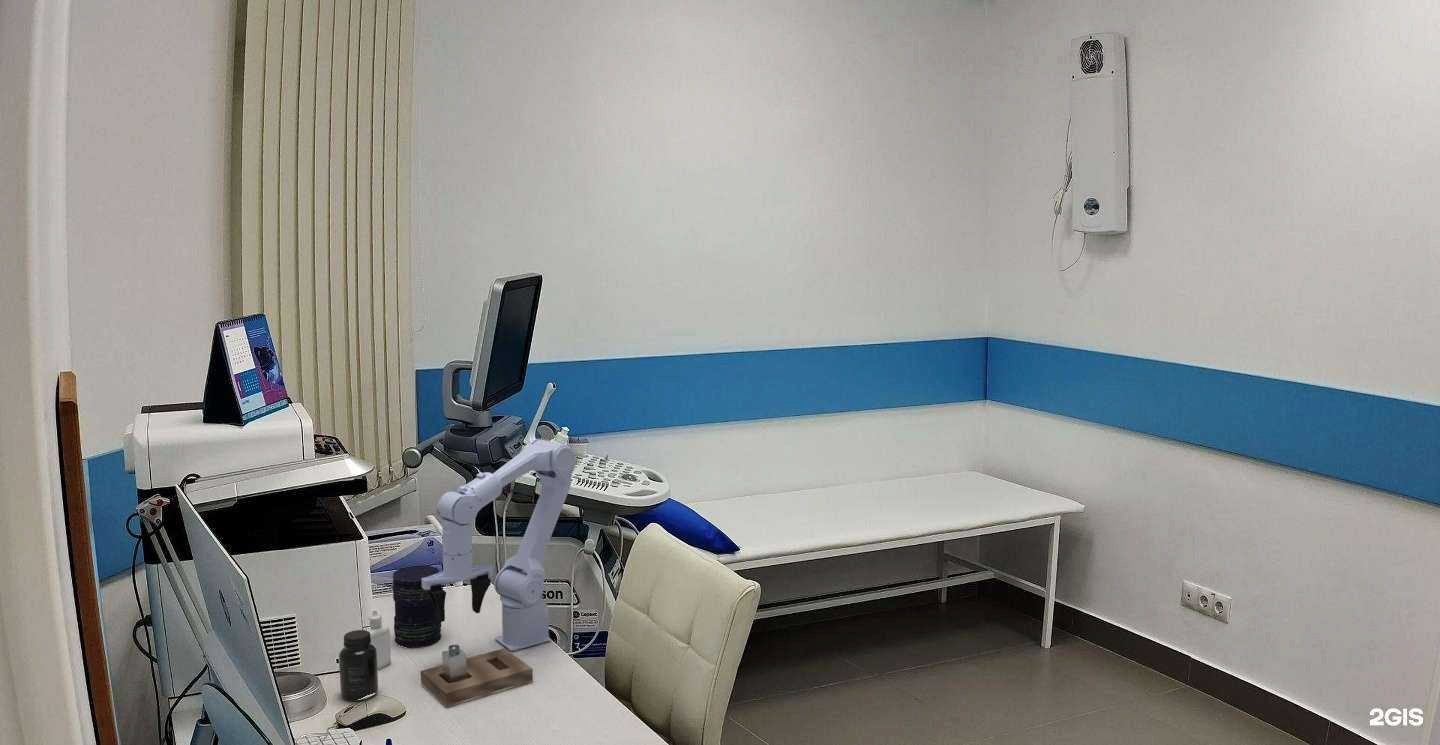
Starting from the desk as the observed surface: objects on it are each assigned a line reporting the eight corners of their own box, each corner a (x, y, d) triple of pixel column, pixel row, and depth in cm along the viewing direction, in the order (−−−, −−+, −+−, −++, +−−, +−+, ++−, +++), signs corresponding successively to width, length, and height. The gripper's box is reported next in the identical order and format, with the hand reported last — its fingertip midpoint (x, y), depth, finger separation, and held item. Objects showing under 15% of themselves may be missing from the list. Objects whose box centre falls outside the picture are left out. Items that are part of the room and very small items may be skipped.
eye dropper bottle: (392, 668, 209) (390, 611, 207) (363, 673, 207) (361, 615, 205) (389, 659, 213) (387, 604, 211) (361, 664, 211) (358, 608, 209)
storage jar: (429, 650, 218) (427, 582, 216) (385, 646, 219) (383, 579, 217) (449, 632, 227) (447, 567, 225) (407, 628, 229) (405, 563, 227)
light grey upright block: (459, 681, 203) (458, 641, 202) (467, 687, 200) (466, 647, 199) (442, 686, 201) (441, 646, 199) (450, 692, 198) (449, 652, 197)
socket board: (504, 660, 213) (504, 648, 213) (532, 681, 204) (532, 668, 204) (421, 684, 202) (420, 670, 202) (446, 707, 193) (446, 693, 193)
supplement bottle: (385, 689, 200) (383, 630, 198) (362, 704, 194) (360, 644, 192) (356, 683, 202) (354, 625, 200) (332, 698, 196) (330, 638, 194)
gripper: (482, 539, 215) (483, 602, 217) (414, 552, 206) (416, 617, 208) (497, 548, 210) (498, 612, 212) (429, 562, 201) (430, 628, 203)
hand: (458, 615), depth 210 cm, fingers open, 7 cm apart
